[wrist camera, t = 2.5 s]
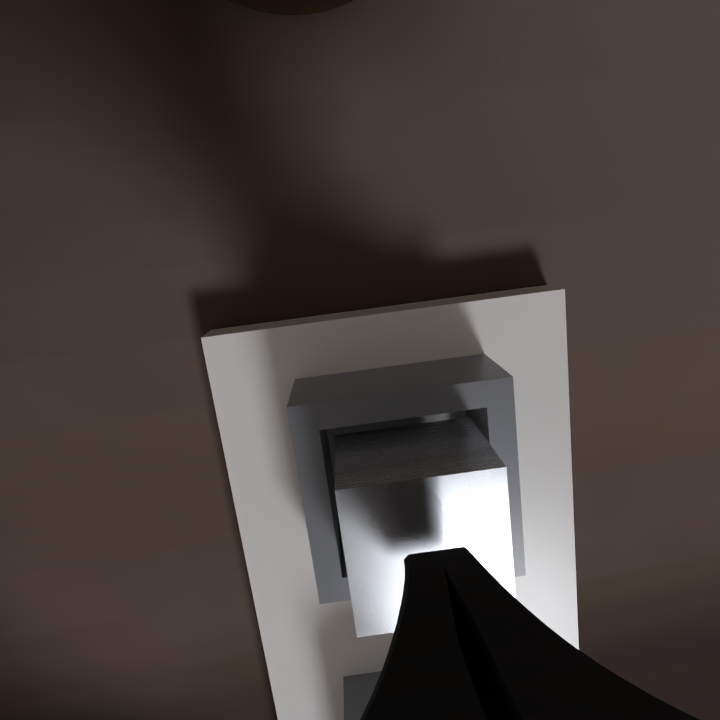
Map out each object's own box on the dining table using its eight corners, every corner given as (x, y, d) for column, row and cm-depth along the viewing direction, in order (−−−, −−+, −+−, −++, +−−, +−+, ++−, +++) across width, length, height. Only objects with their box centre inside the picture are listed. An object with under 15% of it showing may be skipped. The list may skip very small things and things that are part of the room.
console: (569, 771, 24) (621, 891, 20) (305, 809, 24) (298, 938, 20) (547, 284, 19) (610, 299, 15) (211, 329, 19) (173, 358, 14)
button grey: (479, 537, 17) (516, 614, 13) (352, 554, 17) (357, 637, 13) (469, 416, 16) (506, 467, 12) (335, 435, 16) (334, 490, 12)
